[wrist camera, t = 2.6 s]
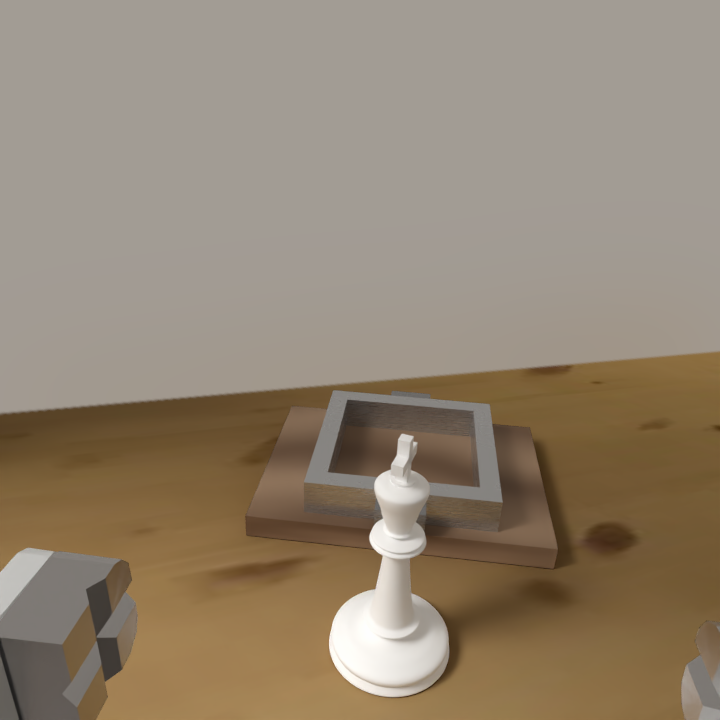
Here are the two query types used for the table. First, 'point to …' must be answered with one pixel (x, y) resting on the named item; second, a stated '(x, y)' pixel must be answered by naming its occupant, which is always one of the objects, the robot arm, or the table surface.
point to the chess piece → (393, 598)
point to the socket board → (433, 461)
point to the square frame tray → (417, 415)
